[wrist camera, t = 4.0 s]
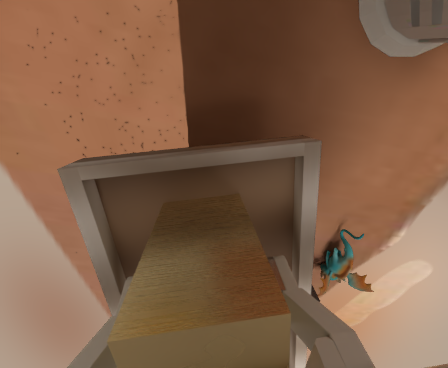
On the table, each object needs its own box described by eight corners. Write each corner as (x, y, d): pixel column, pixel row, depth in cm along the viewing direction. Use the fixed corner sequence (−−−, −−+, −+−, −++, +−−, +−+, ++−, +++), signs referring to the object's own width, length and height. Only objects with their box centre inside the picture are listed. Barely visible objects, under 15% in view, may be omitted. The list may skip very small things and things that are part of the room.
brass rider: (163, 202, 11) (106, 342, 4) (239, 193, 11) (290, 313, 5) (181, 290, 13) (160, 473, 7) (245, 281, 13) (287, 449, 7)
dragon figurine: (299, 217, 28) (300, 276, 28) (330, 235, 20) (330, 314, 21) (348, 214, 28) (348, 272, 29) (396, 231, 21) (394, 309, 21)
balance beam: (94, 153, 12) (57, 169, 9) (292, 132, 13) (321, 140, 10) (172, 411, 21) (167, 463, 18) (286, 391, 22) (300, 438, 19)
